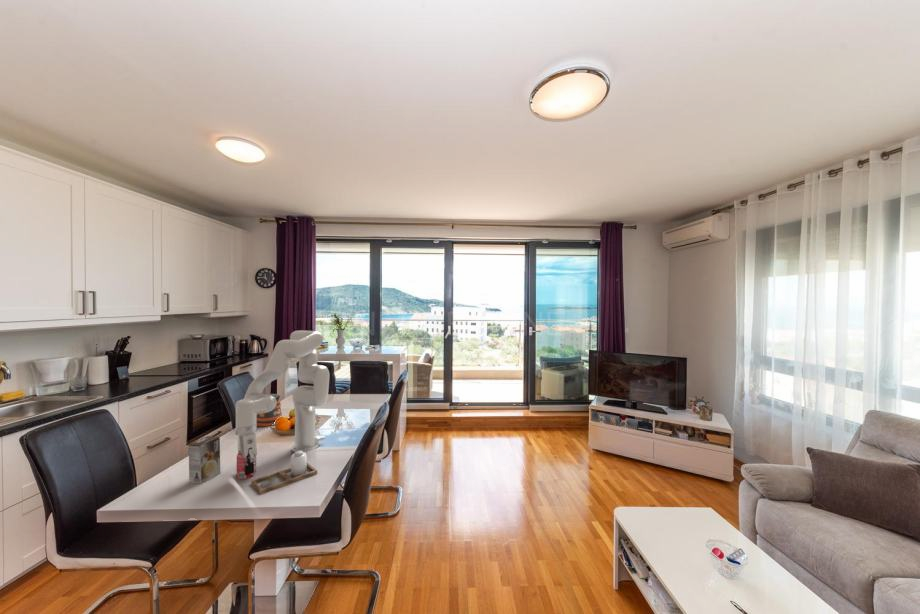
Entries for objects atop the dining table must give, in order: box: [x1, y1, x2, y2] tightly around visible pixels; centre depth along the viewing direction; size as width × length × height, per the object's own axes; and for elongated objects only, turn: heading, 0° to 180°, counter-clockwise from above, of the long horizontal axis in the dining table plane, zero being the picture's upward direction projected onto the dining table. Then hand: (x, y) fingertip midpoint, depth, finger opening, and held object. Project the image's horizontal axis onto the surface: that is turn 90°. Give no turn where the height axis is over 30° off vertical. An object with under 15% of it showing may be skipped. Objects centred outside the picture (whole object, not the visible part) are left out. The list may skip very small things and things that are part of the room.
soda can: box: [236, 450, 257, 480], centre depth 147 cm, size 7×7×12 cm
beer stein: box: [257, 393, 283, 428], centre depth 214 cm, size 19×15×20 cm
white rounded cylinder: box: [290, 451, 308, 477], centre depth 148 cm, size 6×6×9 cm
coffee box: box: [187, 435, 221, 484], centre depth 147 cm, size 9×6×16 cm
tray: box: [250, 462, 318, 495], centre depth 144 cm, size 22×14×3 cm, turn 137°
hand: (246, 470), depth 147 cm, fingers closed on soda can, 7 cm apart
